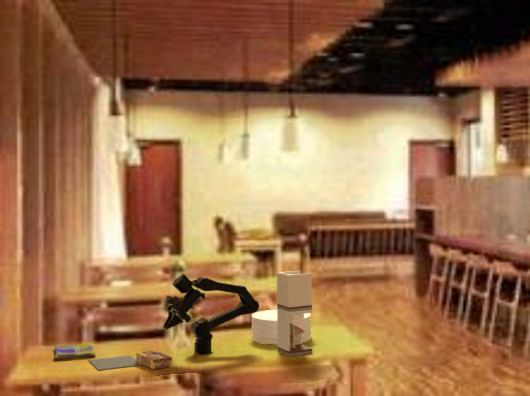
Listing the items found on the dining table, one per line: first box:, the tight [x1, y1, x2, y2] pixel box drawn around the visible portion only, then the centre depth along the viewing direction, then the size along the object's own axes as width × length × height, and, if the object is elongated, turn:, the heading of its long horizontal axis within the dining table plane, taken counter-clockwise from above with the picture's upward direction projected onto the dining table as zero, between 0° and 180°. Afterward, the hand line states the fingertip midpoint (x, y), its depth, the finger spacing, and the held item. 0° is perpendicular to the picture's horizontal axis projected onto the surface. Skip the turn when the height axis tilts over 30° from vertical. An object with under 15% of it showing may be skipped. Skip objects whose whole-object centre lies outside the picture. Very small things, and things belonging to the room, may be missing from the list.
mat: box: [88, 354, 143, 372], centre depth 332 cm, size 18×18×1 cm
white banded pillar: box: [276, 270, 313, 357], centre depth 346 cm, size 11×11×35 cm
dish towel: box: [53, 342, 96, 361], centre depth 350 cm, size 18×24×3 cm
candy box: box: [135, 350, 173, 370], centre depth 328 cm, size 9×4×15 cm
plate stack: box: [251, 309, 312, 346], centre depth 375 cm, size 28×28×12 cm
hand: (164, 328), depth 340 cm, fingers open, 3 cm apart
